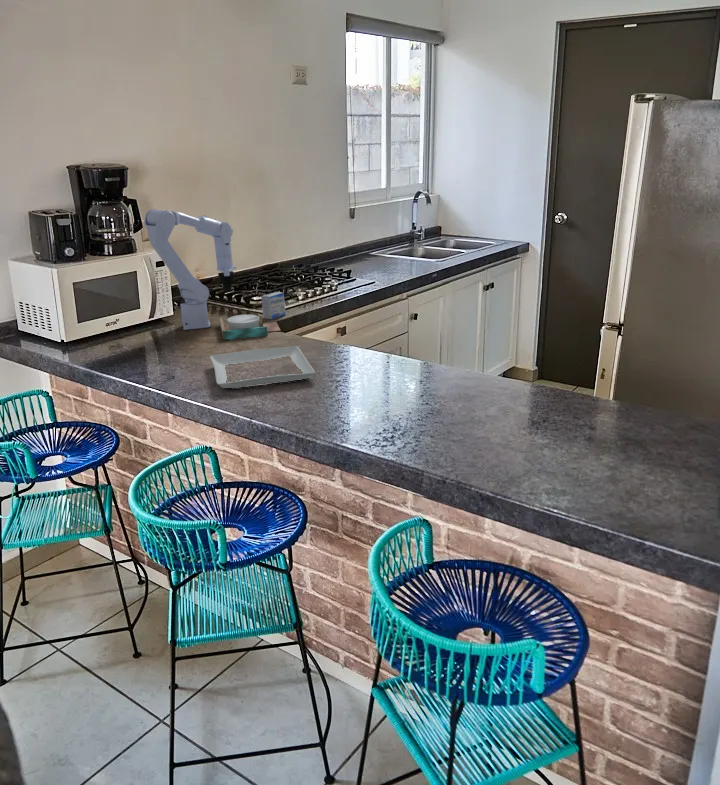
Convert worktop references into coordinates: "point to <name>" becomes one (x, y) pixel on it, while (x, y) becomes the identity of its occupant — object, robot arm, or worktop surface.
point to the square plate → (260, 355)
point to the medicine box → (273, 305)
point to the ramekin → (243, 322)
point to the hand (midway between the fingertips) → (227, 291)
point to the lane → (249, 330)
